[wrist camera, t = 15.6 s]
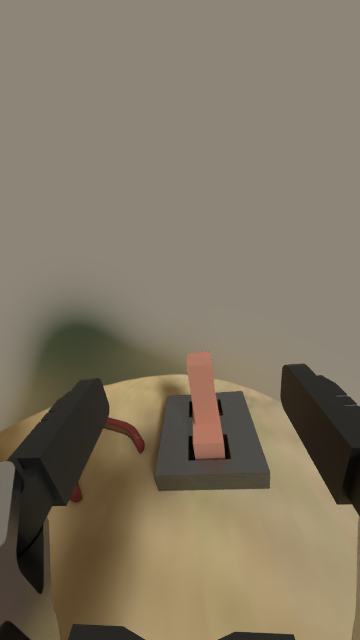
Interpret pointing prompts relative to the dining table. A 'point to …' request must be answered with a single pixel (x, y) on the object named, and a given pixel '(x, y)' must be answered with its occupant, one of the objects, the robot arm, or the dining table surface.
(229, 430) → the grey socket board
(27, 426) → the dining table surface
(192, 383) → the pink tall block
